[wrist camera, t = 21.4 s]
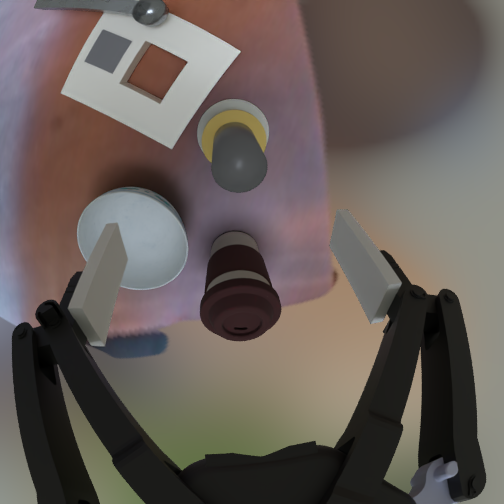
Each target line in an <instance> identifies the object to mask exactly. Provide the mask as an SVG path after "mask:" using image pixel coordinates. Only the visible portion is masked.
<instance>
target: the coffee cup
mask: <svg viewBox="0 0 504 504" xmlns="http://www.w3.org/2000/svg"><path fill="white" fill-rule="evenodd" d="M280 314H281V304H280V300H279V296H278V294H277V292H276V291H275V290H274V289H273V288H272V284H271V281H270V278H269V275H268V272H267V269H266V266H265V263H264V260H263V258H262V256H261V255H260V253H259V250H258V247H257V244H256V242H255V241H254V239H253V238H252V237H251V236H249V235H247V234H245V233H243V232H236V231H235V232H228V233H225V234H223V235H221V236H220V237H218V238H217V239H216V240H215V242H214V243H213V245H212V248H211V255H210V260H209V262H208V267H207V276H206V284H205V294H204V296H203V298H202V300H201V304H200V317H201V321H202V323H203V324H204V326H205V327H206V328H207V329H208V330H210V331H212V332H213V333H215V334H217V335H219V336H221V337H223V338H225V339H227V340H232V341H247V340H251V339H255V338H257V337H259V336H261V335H262V334H264V333H265V332H266V331H267V330H268V329H270V328H271V327H272V326H273V325H274V324H275V323H276V322H277V321H278V319H279V317H280Z"/></svg>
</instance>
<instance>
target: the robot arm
mask: <svg viewBox="0 0 504 504" xmlns="http://www.w3.org/2000/svg"><path fill="white" fill-rule="evenodd" d="M329 246H330V248H331V250H332V252H333V253H334V255H335V257H336V259H337V260H338V262H339V264H340V266H341V268H342V270H343V271H344V273H345V275H346V277H347V279H348V281H349V282H350V284H351V286H352V288H353V290H354V292H355V294H356V296H357V298H358V300H359V302H360V304H361V306H362V308H363V310H364V312H365V314H366V316H367V318H368V320H369V322H370V324H372V323H377V322H382V321H383V320H384V318H385V316H386V314H387V315H388V316H389V318H390V320H389V322H388V323H387V325H386V327H385V329H384V330H383V333H384V336H383V340H382V342H381V345H380V349H379V351H378V354H377V357H376V360H375V363H374V365H373V368H372V371H371V373H370V376H369V378H368V381H367V383H366V386H365V388H364V391H363V393H362V395H361V398H360V400H359V402H358V405H357V407H356V409H355V411H354V413H353V416H352V418H351V420H350V422H349V424H348V426H347V428H346V430H345V432H344V433H343V435H342V436H341V438H340V439H339V441H338V442H337V444H336V446H335V447H334V448H332V447H328V446H322V445H316V442H315V441H312V442H307V443H302V444H297V445H292V446H288V447H286V448H283V449H281V450H279V451H276V452H273V453H271V454H268V455H266V456H261V457H260V456H251V455H242V454H235V453H227V454H207V455H205V459H203V460H199V461H197V462H194V463H193V464H191V465H189V466H188V467H186V468H185V469H184V470H183V471H182V470H181V469H180V468H179V467H178V466H177V465H176V464H175V463H174V462H173V461H172V460H171V459H170V458H168V456H167V455H165V454H164V453H163V452H162V451H161V449H160V448H159V447H158V446H157V445H156V444H155V443H154V442H153V440H152V439H151V438H150V437H149V436H148V435H147V433H146V432H145V431H144V430H143V428H142V427H141V426H140V425H139V424H138V422H137V421H136V420H135V419H134V417H133V416H132V415H131V413H130V412H129V411H128V410H127V408H126V407H125V406H124V404H123V403H122V401H121V400H120V399H119V397H118V396H117V394H116V393H115V392H114V390H113V389H112V387H111V386H110V384H109V383H108V381H107V380H106V378H105V377H104V375H103V374H102V372H101V370H100V369H99V367H98V366H97V364H96V362H95V361H94V359H93V357H92V356H91V354H90V353H89V351H88V349H87V347H86V346H85V344H86V340H88V341H89V343H90V344H91V346H105V343H106V338H107V334H108V330H109V326H110V321H111V317H112V313H113V310H114V306H115V302H116V298H117V295H118V291H119V288H120V284H121V281H122V278H123V274H124V271H125V268H126V265H127V261H128V257H127V254H126V250H125V247H124V244H123V240H122V237H121V233H120V229H119V226H118V223H109V224H106V225H105V227H104V229H103V231H102V233H101V235H100V237H99V239H98V241H97V243H96V245H95V247H94V249H93V251H92V253H91V255H90V257H89V259H88V262H87V264H86V266H85V268H84V270H83V271H82V272H76V273H75V275H74V276H73V277H72V278H71V279H70V282H69V284H68V287H67V288H66V291H65V293H64V295H63V298H62V300H61V302H60V305H59V304H58V303H57V302H56V301H55V300H47V301H45V302H43V303H42V304H41V305H40V306H39V307H38V308H37V310H36V313H35V315H36V319H37V320H38V322H39V323H40V324H41V326H39V327H36V328H32V326H31V325H30V324H29V323H27V322H24V323H21V324H19V325H18V326H17V327H16V328H15V329H14V331H13V335H12V368H13V383H14V393H15V402H16V410H17V416H18V423H19V428H20V434H21V439H22V443H23V448H24V452H25V456H26V459H27V463H28V467H29V470H30V474H31V477H32V480H33V483H34V486H35V489H36V492H37V502H38V504H100V503H99V499H98V496H97V494H96V491H95V489H94V486H93V484H92V481H91V479H90V477H89V474H88V472H87V470H86V467H85V465H84V462H83V459H82V457H81V454H80V451H79V448H78V446H77V443H76V440H75V436H74V433H73V430H72V427H71V424H70V420H69V416H68V412H67V409H66V405H65V401H64V396H63V392H62V388H61V383H60V378H59V372H58V367H57V364H58V365H59V367H60V369H61V371H62V373H63V375H64V377H65V380H66V382H67V383H68V386H69V387H70V389H71V391H72V393H73V395H74V397H75V399H76V401H77V403H78V404H79V406H80V408H81V410H82V411H83V413H84V415H85V416H86V418H87V420H88V421H89V423H90V425H91V426H92V428H93V429H94V431H95V433H96V434H97V436H98V437H99V439H100V440H101V442H102V443H103V445H104V446H105V447H106V449H107V450H108V452H109V453H110V455H111V456H112V458H113V459H112V462H113V464H114V466H115V467H116V469H117V470H118V472H119V473H120V474H121V475H122V477H123V478H124V479H125V480H126V482H127V483H128V484H129V485H130V487H131V488H132V489H133V490H134V491H135V492H136V493H137V495H138V496H139V497H140V498H141V499H142V500H143V501H144V502H145V503H146V504H454V503H458V502H462V501H466V500H470V499H473V498H475V497H477V496H478V495H479V494H480V493H481V492H482V490H483V489H484V487H485V483H486V473H485V468H484V463H483V459H482V454H481V451H480V446H479V442H478V439H477V408H476V395H475V383H474V376H473V367H472V360H471V355H470V349H469V343H468V337H467V333H466V328H465V324H464V319H463V314H462V310H461V306H460V303H459V299H458V297H457V295H455V293H454V292H452V291H451V290H448V289H442V290H441V291H440V292H439V294H438V296H435V295H428V294H427V293H426V291H425V290H424V289H423V288H421V287H419V286H417V285H412V284H411V283H410V281H409V280H408V278H407V277H406V275H405V274H404V273H403V271H402V270H401V268H399V266H398V264H397V263H396V262H395V260H394V259H393V257H392V256H391V255H390V254H388V253H387V252H386V251H384V250H381V251H379V249H378V248H377V247H376V245H375V244H374V243H373V241H372V240H371V239H370V237H369V236H368V235H367V233H366V232H365V231H364V229H363V228H362V227H361V226H360V224H359V223H358V222H357V220H356V219H355V218H354V217H353V216H352V214H351V213H350V212H349V210H347V209H346V210H337V211H336V217H335V222H334V227H333V231H332V236H331V241H330V245H329ZM420 346H421V368H422V405H421V426H420V427H421V428H420V439H419V451H418V463H419V464H418V466H419V469H418V470H417V471H416V473H415V475H414V477H413V478H412V479H411V486H412V489H411V491H410V493H409V494H407V493H405V492H403V491H402V490H400V489H398V488H397V487H395V486H393V485H392V484H390V483H388V482H387V481H385V480H384V477H385V475H386V472H387V470H388V468H389V465H390V463H391V461H392V458H393V456H394V453H395V450H396V448H397V446H398V443H399V440H400V437H401V435H402V431H403V425H402V424H401V418H402V415H403V412H404V409H405V406H406V402H407V399H408V395H409V392H410V388H411V385H412V381H413V377H414V373H415V368H416V364H417V360H418V355H419V350H420Z"/></svg>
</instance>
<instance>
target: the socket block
mask: <svg viewBox="0 0 504 504" xmlns="http://www.w3.org/2000/svg"><path fill="white" fill-rule="evenodd" d="M137 1H139V0H137ZM151 43H152V44H154V45H156V46H158V47H160V48H162V49H164V50H166V51H168V52H170V53H172V54H174V55H176V56H178V57H180V58H182V59H184V60H186V61H188V63H187V64H186V66H185V67H184V68H183V70H182V71H181V73H180V74H179V76H178V77H177V79H176V80H175V82H174V83H173V85H172V86H171V88H170V89H169V91H168V92H167V94H166V95H165V97H164V98H163V100H162V99H160V98H158V97H156V96H154V95H152V94H150V93H148V92H146V91H144V90H142V89H140V88H138V87H136V86H134V85H132V84H130V83H128V82H127V81H128V79H129V78H130V76H131V74H132V73H133V71H134V69H135V68H136V66H137V64H138V63H139V61H140V60H141V58H142V57H143V55H144V54H145V52H146V51H147V49H148V48H149V46H150V45H151ZM240 52H241V51H239V50H238V49H236V48H234V47H233V46H231V45H230V44H228V43H226V42H224V41H223V40H221V39H219V38H217V37H216V36H214V35H212V34H210V33H208V32H207V31H205V30H203V29H201V28H199V27H197V26H195V25H193V24H191V23H189V22H187V21H185V20H183V19H181V18H179V17H177V16H175V15H173V14H170V13H169V14H168V17H167V18H166V20H165V21H164V22H163V23H161V24H160V25H157V26H154V27H147V26H144V25H142V24H141V23H139V22H137V21H136V20H135V19H134V18H133V17H131V16H125V15H118V14H111V13H104V14H103V15H102V17H101V18H100V20H99V21H98V23H97V25H96V26H95V28H94V29H93V31H92V33H91V34H90V36H89V38H88V39H87V41H86V43H85V45H84V46H83V48H82V50H81V52H80V54H79V56H78V58H77V59H76V61H75V63H74V65H73V67H72V69H71V71H70V74H69V76H68V78H67V80H66V82H65V84H64V87H63V89H62V91H61V94H64V95H66V96H68V97H70V98H72V99H74V100H76V101H79V102H81V103H83V104H85V105H87V106H89V107H91V108H93V109H95V110H97V111H99V112H101V113H103V114H105V115H107V116H109V117H111V118H113V119H115V120H117V121H119V122H121V123H123V124H125V125H127V126H129V127H131V128H133V129H135V130H137V131H139V132H141V133H142V134H144V135H146V136H148V137H150V138H152V139H154V140H156V141H157V142H159V143H161V144H163V145H165V146H167V147H168V148H170V149H172V148H173V147H174V145H175V143H176V142H177V140H178V139H179V137H180V135H181V134H182V132H183V131H184V129H185V128H186V126H187V125H188V123H189V121H190V120H191V118H192V117H193V115H194V114H195V112H196V111H197V110H198V108H199V107H200V105H201V104H202V102H203V101H204V99H205V98H206V97H207V95H208V94H209V92H210V91H211V90H212V88H213V87H214V86H215V84H216V83H217V82H218V80H219V79H220V78H221V76H222V75H223V74H224V72H225V71H226V70H227V68H228V67H229V66H230V65H231V63H232V62H233V61H234V60H235V58H236V57H237V56H238V55H239V53H240Z"/></svg>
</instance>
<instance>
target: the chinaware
mask: <svg viewBox="0 0 504 504" xmlns="http://www.w3.org/2000/svg"><path fill="white" fill-rule="evenodd" d="M109 223H118V226H119V229H120V233H121V237H122V240H123V244H124V247H125V250H126V254H127V257H128V261H127V265H126V268H125V271H124V274H123V278H122V281H121V284H120V287H124V288H128V289H134V290H148V289H154V288H158V287H161V286H163V285H165V284H167V283H169V282H171V281H172V280H173V279H175V278H176V277H177V276H178V275H179V273H180V272H181V271H182V269H183V268H184V266H185V263H186V260H187V256H188V239H187V234H186V230H185V227H184V225H183V222H182V220H181V218H180V216H179V214H178V213H177V211H176V210H175V208H174V207H173V206H172V205H171V204H170V203H169V202H168V201H167V200H166V199H165V198H163V197H162V196H160V195H159V194H157V193H155V192H153V191H151V190H148V189H145V188H140V187H122V188H117V189H113V190H111V191H108V192H106V193H104V194H102V195H100V196H99V197H97V198H96V199H94V200H93V201H92V202H91V203H90V204H89V205H88V206H87V207H86V208H85V210H84V211H83V213H82V215H81V217H80V219H79V222H78V227H77V240H78V245H79V248H80V251H81V253H82V255H83V257H84V259H85V260H86V262H88V259H89V257H90V255H91V253H92V251H93V249H94V247H95V245H96V243H97V241H98V239H99V237H100V235H101V233H102V231H103V229H104V227H105V225H106V224H109Z"/></svg>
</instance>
